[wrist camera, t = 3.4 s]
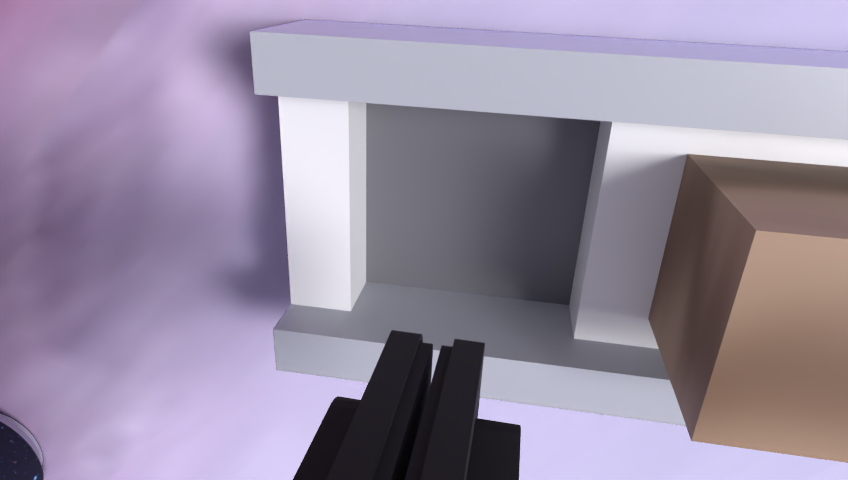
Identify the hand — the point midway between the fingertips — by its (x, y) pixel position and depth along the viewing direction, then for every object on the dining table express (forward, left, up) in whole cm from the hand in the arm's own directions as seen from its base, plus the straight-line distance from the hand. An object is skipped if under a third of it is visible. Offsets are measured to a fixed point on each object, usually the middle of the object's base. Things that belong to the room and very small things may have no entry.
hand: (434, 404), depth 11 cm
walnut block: (-1, +8, -7) cm, 11 cm away
